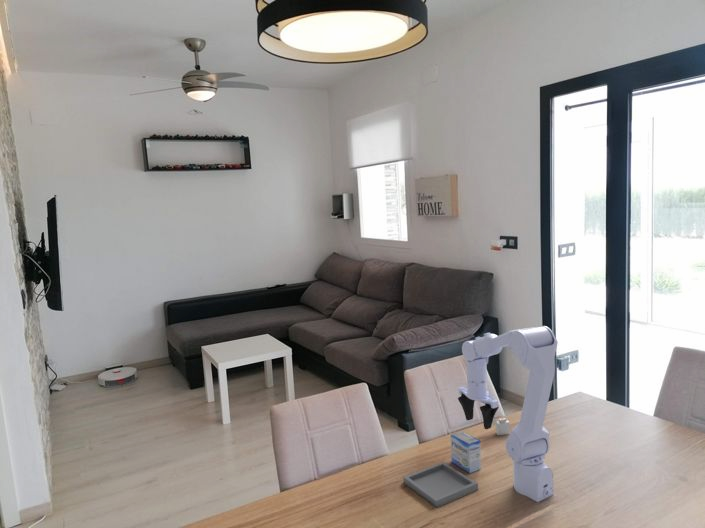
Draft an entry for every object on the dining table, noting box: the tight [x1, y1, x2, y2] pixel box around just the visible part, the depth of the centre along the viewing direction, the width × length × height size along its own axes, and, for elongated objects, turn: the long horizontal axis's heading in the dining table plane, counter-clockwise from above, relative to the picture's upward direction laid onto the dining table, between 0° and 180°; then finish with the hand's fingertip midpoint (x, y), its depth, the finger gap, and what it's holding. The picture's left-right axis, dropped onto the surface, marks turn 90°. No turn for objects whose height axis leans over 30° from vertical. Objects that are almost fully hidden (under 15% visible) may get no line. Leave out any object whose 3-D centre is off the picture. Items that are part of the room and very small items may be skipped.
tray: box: [402, 461, 479, 508], centre depth 134 cm, size 14×14×2 cm
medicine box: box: [450, 430, 482, 474], centre depth 144 cm, size 8×4×9 cm, turn 30°
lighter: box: [492, 417, 511, 436], centre depth 162 cm, size 7×2×8 cm, turn 99°
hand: (478, 423), depth 150 cm, fingers open, 7 cm apart
